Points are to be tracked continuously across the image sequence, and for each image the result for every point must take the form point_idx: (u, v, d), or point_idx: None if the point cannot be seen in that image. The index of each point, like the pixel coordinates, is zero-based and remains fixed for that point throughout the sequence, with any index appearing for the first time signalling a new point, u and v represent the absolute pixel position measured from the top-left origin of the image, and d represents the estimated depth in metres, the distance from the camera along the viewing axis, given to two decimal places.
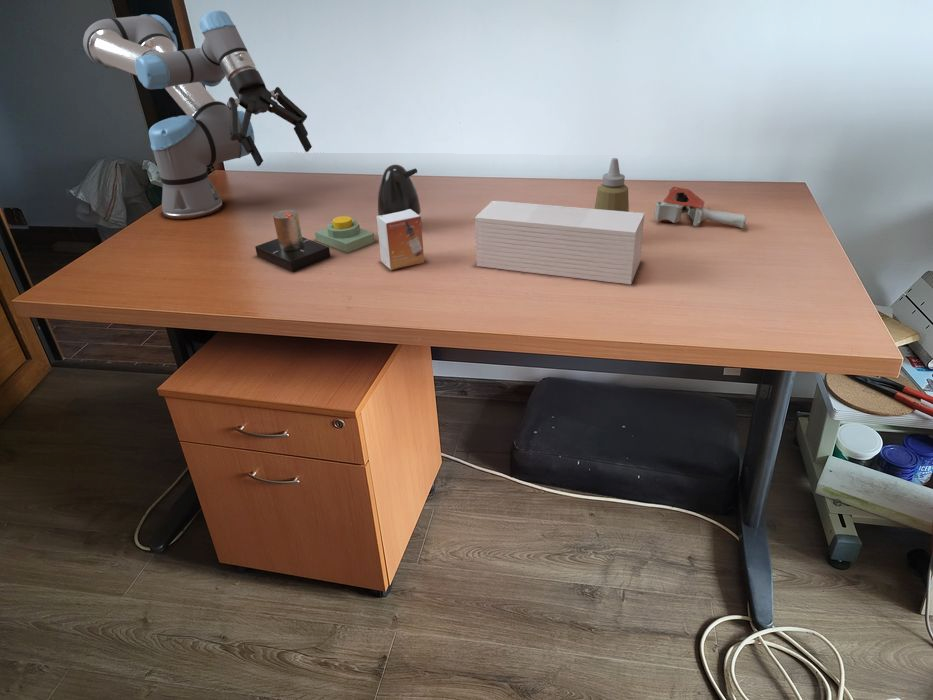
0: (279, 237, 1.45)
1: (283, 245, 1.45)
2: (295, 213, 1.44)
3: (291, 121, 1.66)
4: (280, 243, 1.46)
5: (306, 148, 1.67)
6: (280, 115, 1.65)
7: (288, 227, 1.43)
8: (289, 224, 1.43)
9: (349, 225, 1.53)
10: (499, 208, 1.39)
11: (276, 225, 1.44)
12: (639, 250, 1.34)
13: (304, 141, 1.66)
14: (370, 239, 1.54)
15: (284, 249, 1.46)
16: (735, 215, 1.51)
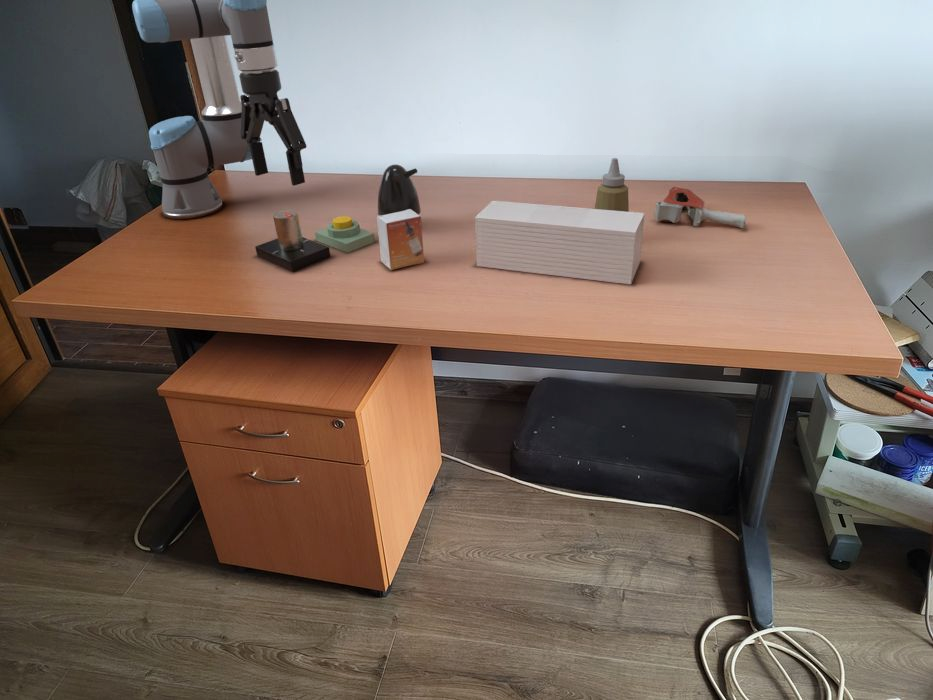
0: (279, 237, 1.45)
1: (283, 245, 1.45)
2: (295, 213, 1.44)
3: None
4: (280, 243, 1.46)
5: None
6: None
7: (288, 227, 1.43)
8: (289, 224, 1.43)
9: (349, 225, 1.53)
10: (499, 208, 1.39)
11: (276, 225, 1.44)
12: (639, 250, 1.34)
13: None
14: (370, 239, 1.54)
15: (284, 249, 1.46)
16: (735, 215, 1.51)
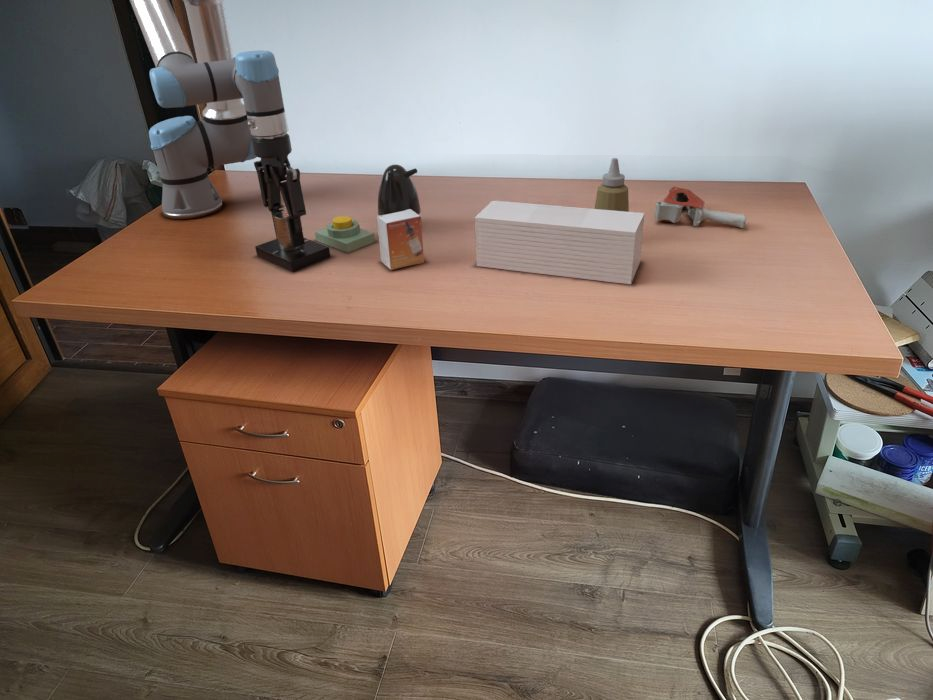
0: (279, 237, 1.45)
1: (283, 245, 1.45)
2: None
3: None
4: (280, 243, 1.46)
5: None
6: None
7: (288, 227, 1.43)
8: None
9: (349, 225, 1.53)
10: (499, 208, 1.39)
11: (276, 225, 1.44)
12: (639, 250, 1.34)
13: None
14: (370, 239, 1.54)
15: (284, 249, 1.46)
16: (735, 215, 1.51)
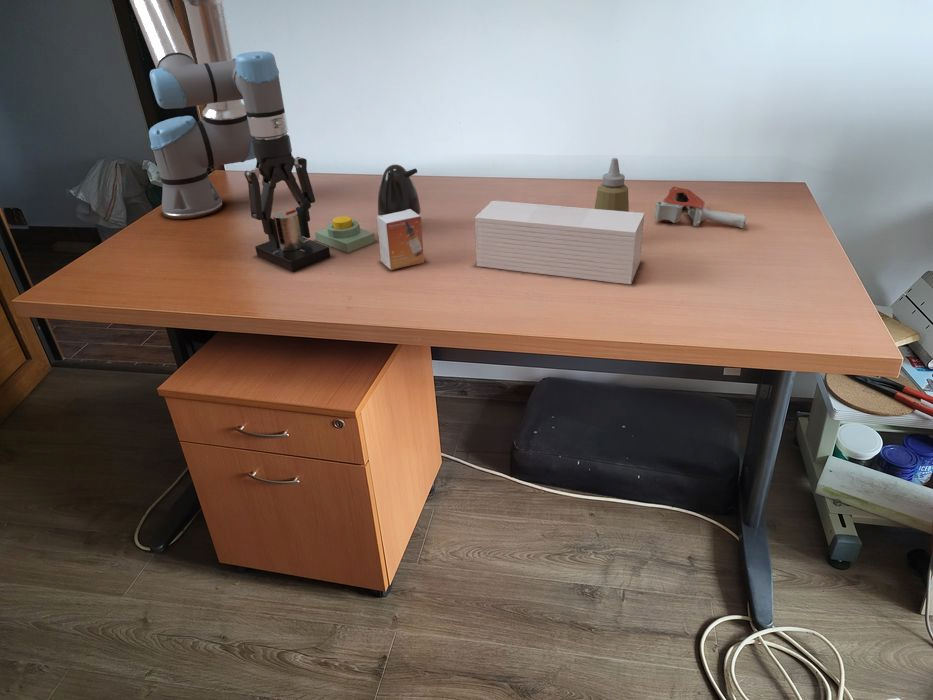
0: (296, 236, 1.45)
1: (300, 242, 1.47)
2: (286, 210, 1.46)
3: (297, 199, 1.46)
4: (297, 242, 1.46)
5: (303, 234, 1.49)
6: (290, 189, 1.44)
7: None
8: (298, 218, 1.46)
9: (349, 225, 1.53)
10: (499, 208, 1.39)
11: (293, 224, 1.44)
12: (639, 250, 1.34)
13: (303, 228, 1.48)
14: (370, 239, 1.54)
15: (301, 246, 1.47)
16: (735, 215, 1.51)
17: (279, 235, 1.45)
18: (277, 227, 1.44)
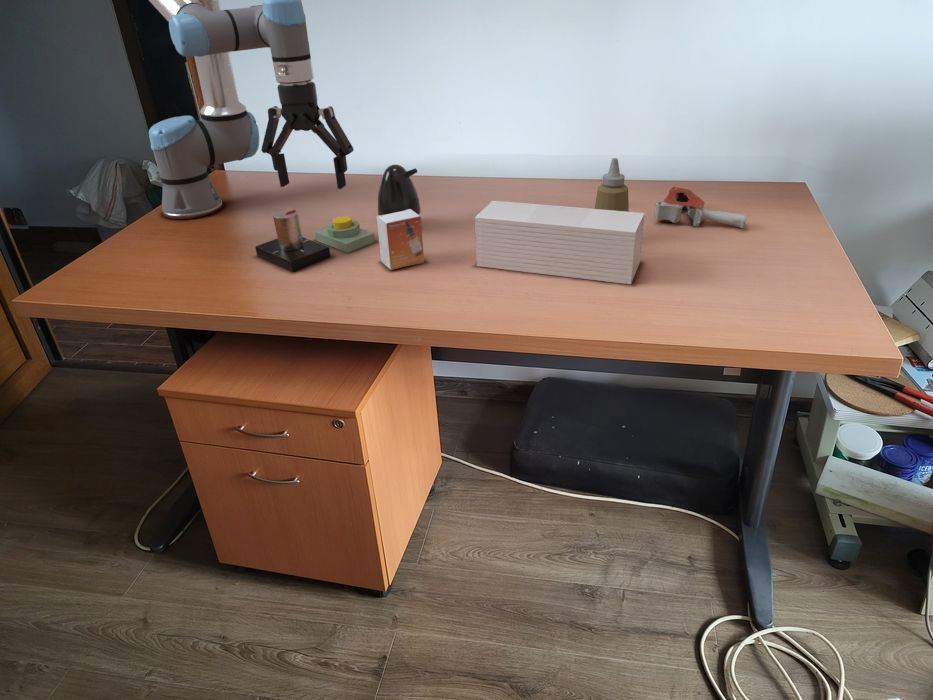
0: (296, 236, 1.45)
1: (300, 242, 1.47)
2: (286, 210, 1.46)
3: None
4: (297, 242, 1.46)
5: None
6: None
7: None
8: (298, 218, 1.46)
9: (349, 225, 1.53)
10: (499, 208, 1.39)
11: (293, 224, 1.44)
12: (639, 250, 1.34)
13: None
14: (370, 239, 1.54)
15: (301, 246, 1.47)
16: (735, 215, 1.51)
17: (279, 235, 1.45)
18: (277, 227, 1.44)
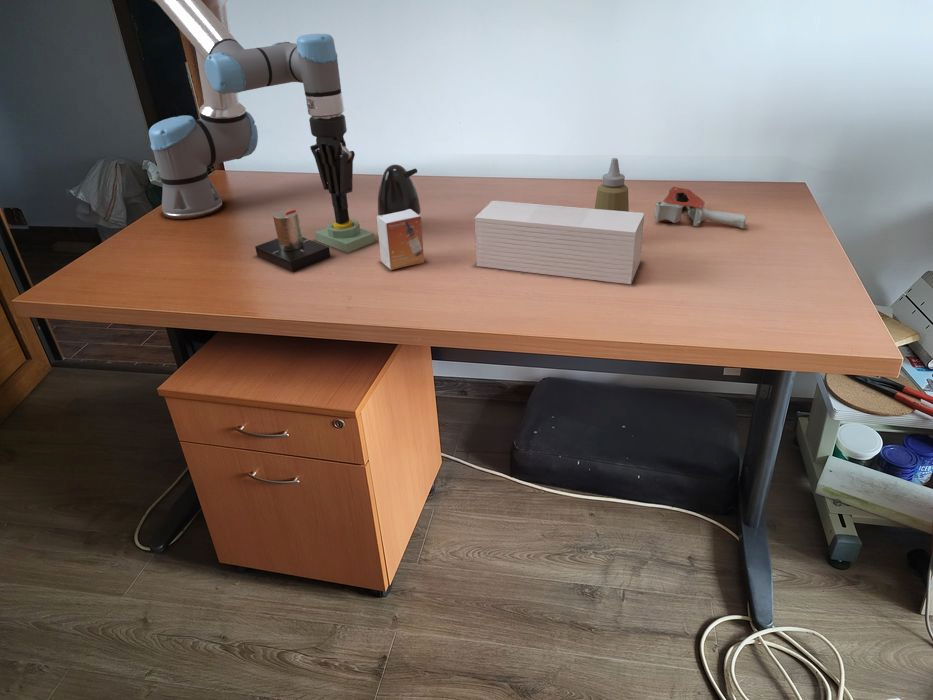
0: (296, 236, 1.45)
1: (300, 242, 1.47)
2: (286, 210, 1.46)
3: None
4: (297, 242, 1.46)
5: None
6: None
7: None
8: (298, 218, 1.46)
9: None
10: (499, 208, 1.39)
11: (293, 224, 1.44)
12: (639, 250, 1.34)
13: None
14: (370, 239, 1.54)
15: (301, 246, 1.47)
16: (735, 215, 1.51)
17: (279, 235, 1.45)
18: (277, 227, 1.44)
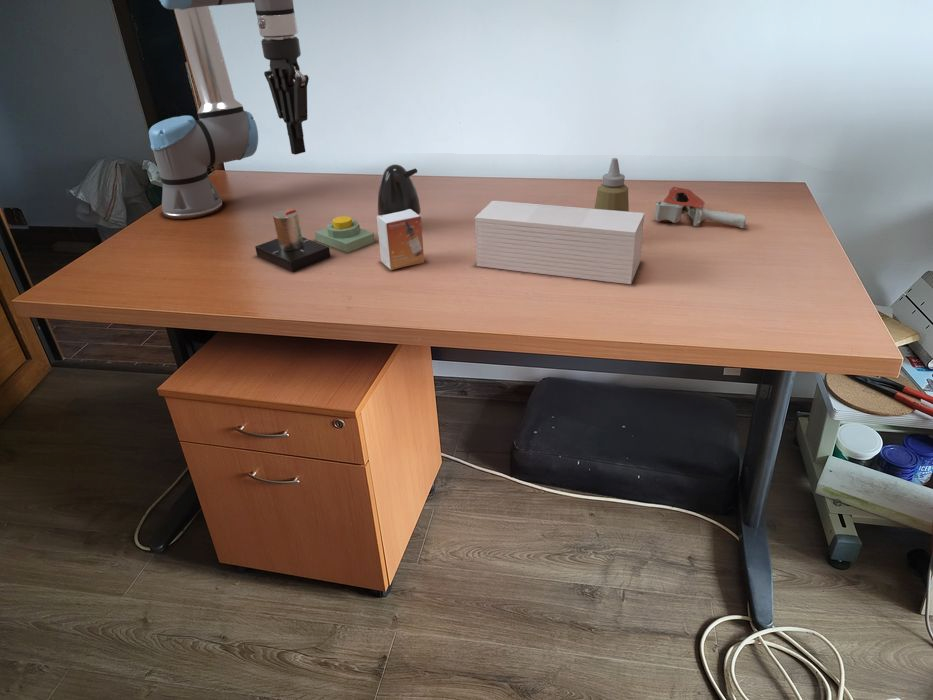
0: (296, 236, 1.45)
1: (300, 242, 1.47)
2: (286, 210, 1.46)
3: None
4: (297, 242, 1.46)
5: None
6: None
7: None
8: (298, 218, 1.46)
9: (349, 225, 1.53)
10: (499, 208, 1.39)
11: (293, 224, 1.44)
12: (639, 250, 1.34)
13: None
14: (370, 239, 1.54)
15: (301, 246, 1.47)
16: (735, 215, 1.51)
17: (279, 235, 1.45)
18: (277, 227, 1.44)
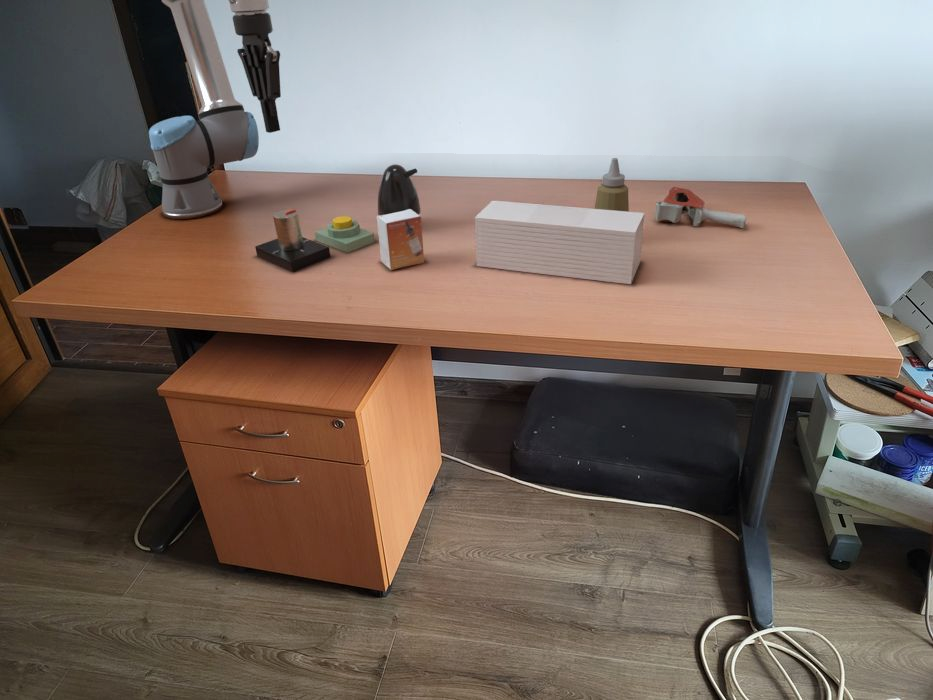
0: (296, 236, 1.45)
1: (300, 242, 1.47)
2: (286, 210, 1.46)
3: None
4: (297, 242, 1.46)
5: None
6: None
7: None
8: (298, 218, 1.46)
9: (349, 225, 1.53)
10: (499, 208, 1.39)
11: (293, 224, 1.44)
12: (639, 250, 1.34)
13: None
14: (370, 239, 1.54)
15: (301, 246, 1.47)
16: (735, 215, 1.51)
17: (279, 235, 1.45)
18: (277, 227, 1.44)
